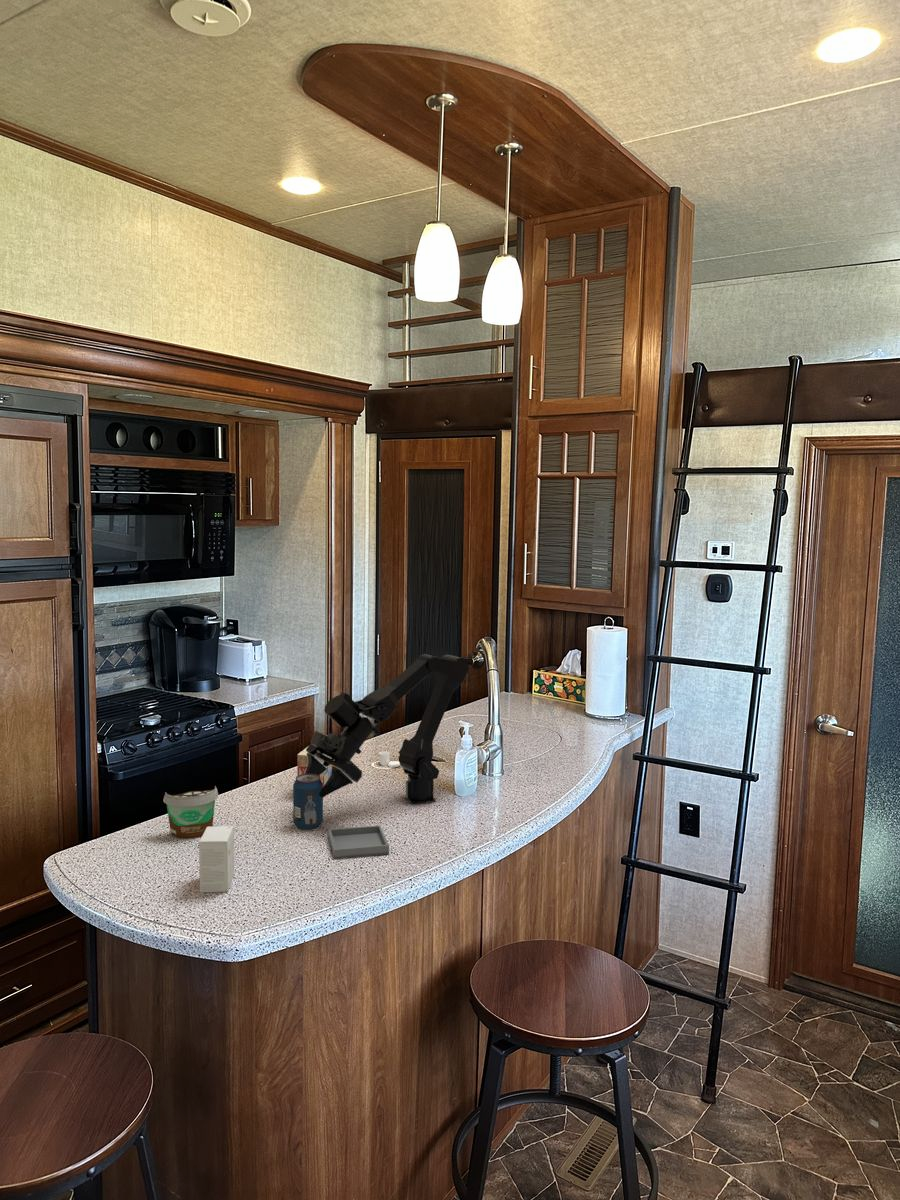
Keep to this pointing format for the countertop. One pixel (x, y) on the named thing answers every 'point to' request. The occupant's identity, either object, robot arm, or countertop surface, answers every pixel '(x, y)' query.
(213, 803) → the food container
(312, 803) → the soda can
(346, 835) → the tray
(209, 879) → the small box
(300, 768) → the stack of blocks
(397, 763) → the teacup and saucer
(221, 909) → the countertop surface
